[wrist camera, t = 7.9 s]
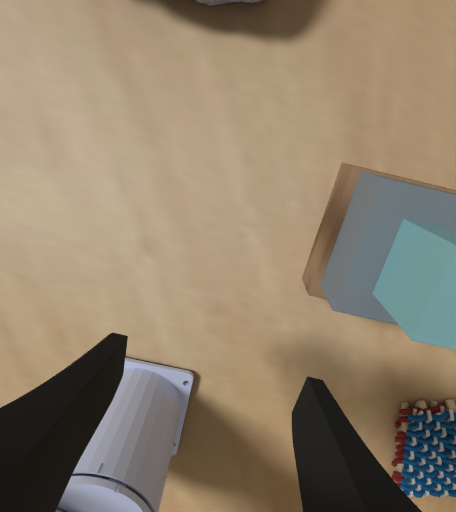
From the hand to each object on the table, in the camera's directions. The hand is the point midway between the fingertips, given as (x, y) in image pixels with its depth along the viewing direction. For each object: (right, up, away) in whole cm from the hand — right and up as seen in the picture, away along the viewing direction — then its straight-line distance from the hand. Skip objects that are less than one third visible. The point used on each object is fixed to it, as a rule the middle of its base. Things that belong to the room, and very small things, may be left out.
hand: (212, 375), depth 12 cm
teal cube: (+10, +4, +3) cm, 12 cm away
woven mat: (+20, -11, +15) cm, 27 cm away
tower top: (+10, +5, +6) cm, 13 cm away
